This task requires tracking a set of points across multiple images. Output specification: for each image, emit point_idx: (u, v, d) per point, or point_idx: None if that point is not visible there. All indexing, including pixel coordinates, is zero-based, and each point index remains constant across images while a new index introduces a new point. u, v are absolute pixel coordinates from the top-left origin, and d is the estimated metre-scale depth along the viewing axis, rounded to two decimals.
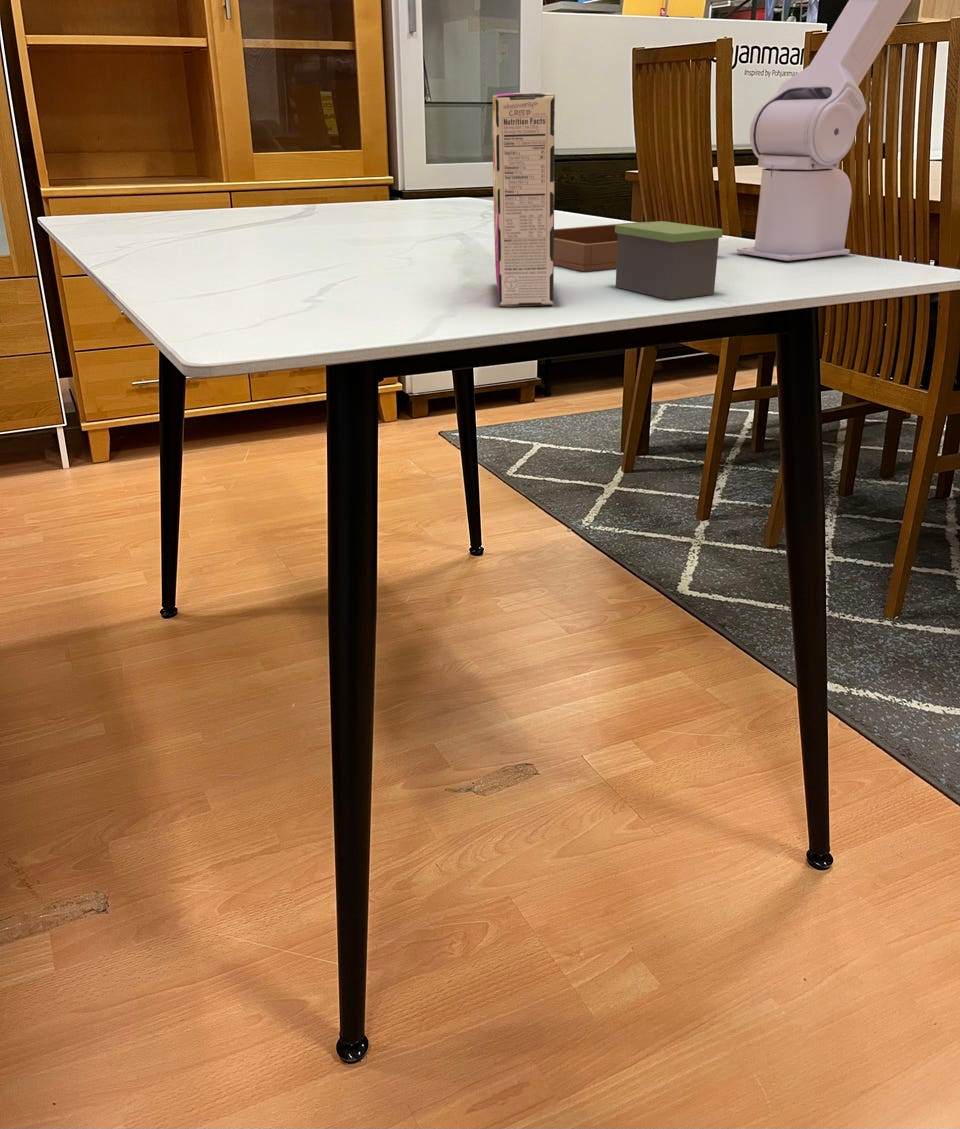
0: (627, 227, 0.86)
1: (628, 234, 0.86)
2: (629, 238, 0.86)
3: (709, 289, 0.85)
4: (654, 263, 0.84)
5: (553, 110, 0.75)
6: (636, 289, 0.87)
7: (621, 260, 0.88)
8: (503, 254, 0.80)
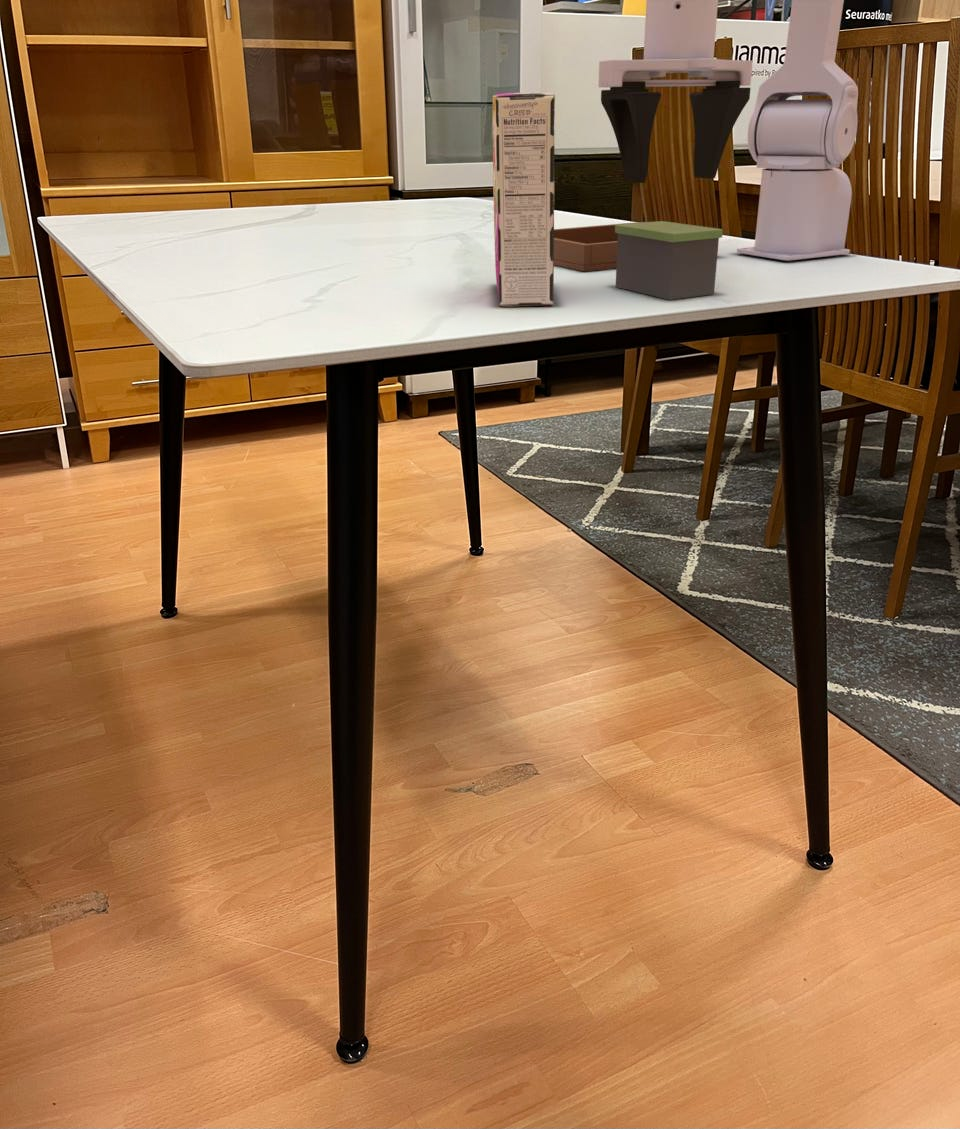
0: (627, 227, 0.86)
1: (628, 234, 0.86)
2: (629, 238, 0.86)
3: (709, 289, 0.85)
4: (654, 263, 0.84)
5: (553, 110, 0.75)
6: (636, 289, 0.87)
7: (621, 260, 0.88)
8: (503, 254, 0.80)
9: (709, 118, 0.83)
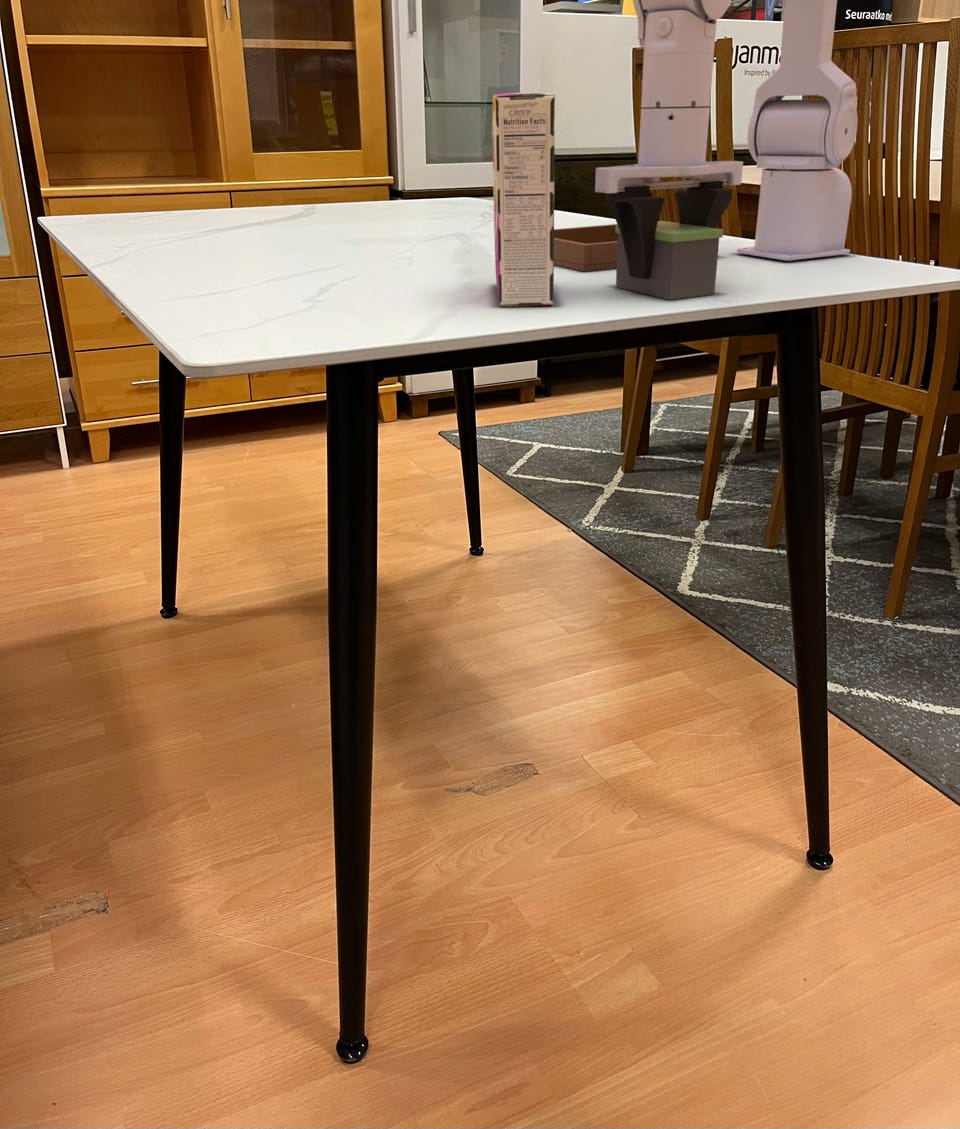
0: None
1: None
2: None
3: (709, 289, 0.85)
4: (655, 263, 0.84)
5: (553, 110, 0.75)
6: (636, 289, 0.87)
7: (621, 260, 0.88)
8: (503, 254, 0.80)
9: (693, 216, 0.86)
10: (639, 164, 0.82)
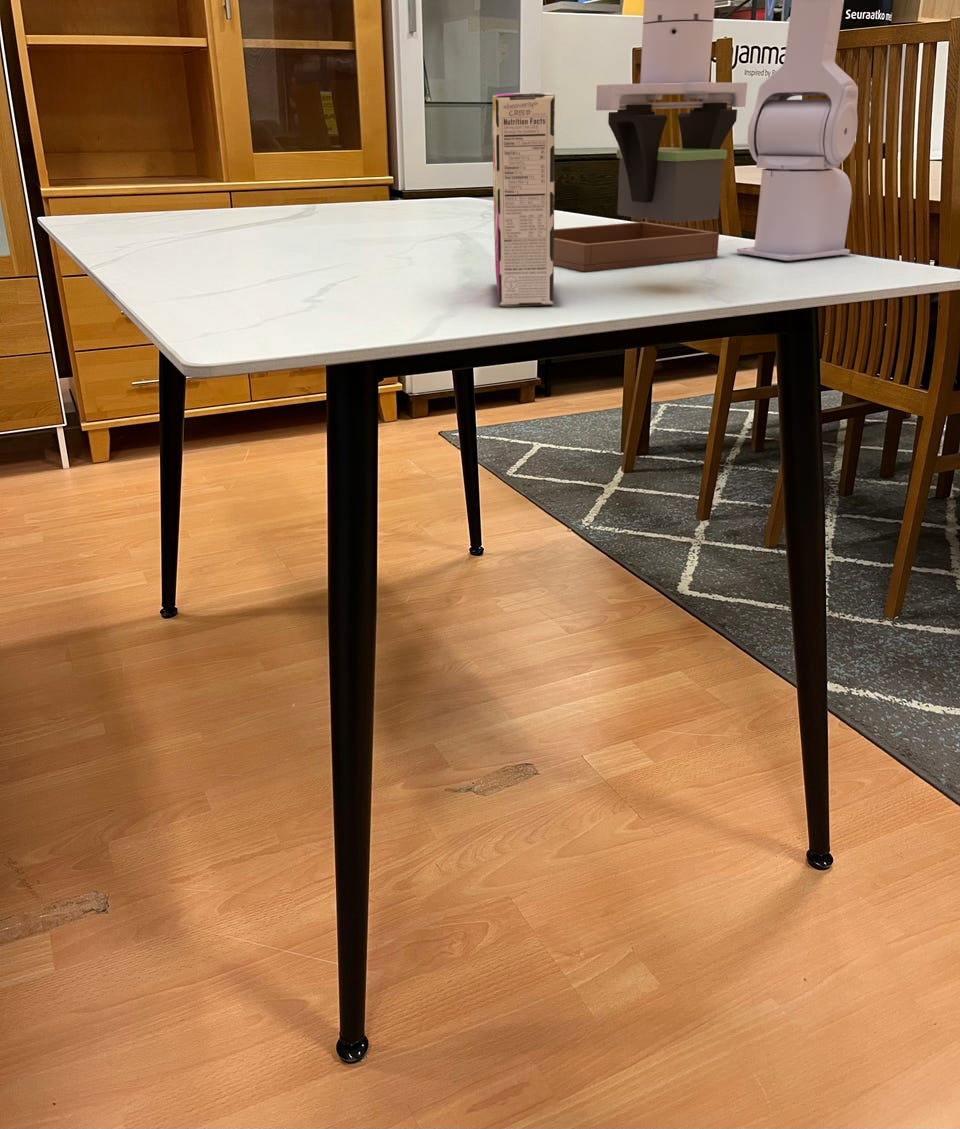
0: None
1: None
2: None
3: (713, 213, 0.83)
4: (657, 186, 0.82)
5: (553, 110, 0.75)
6: (638, 215, 0.85)
7: (623, 186, 0.86)
8: (503, 254, 0.80)
9: (697, 139, 0.84)
10: (641, 83, 0.81)
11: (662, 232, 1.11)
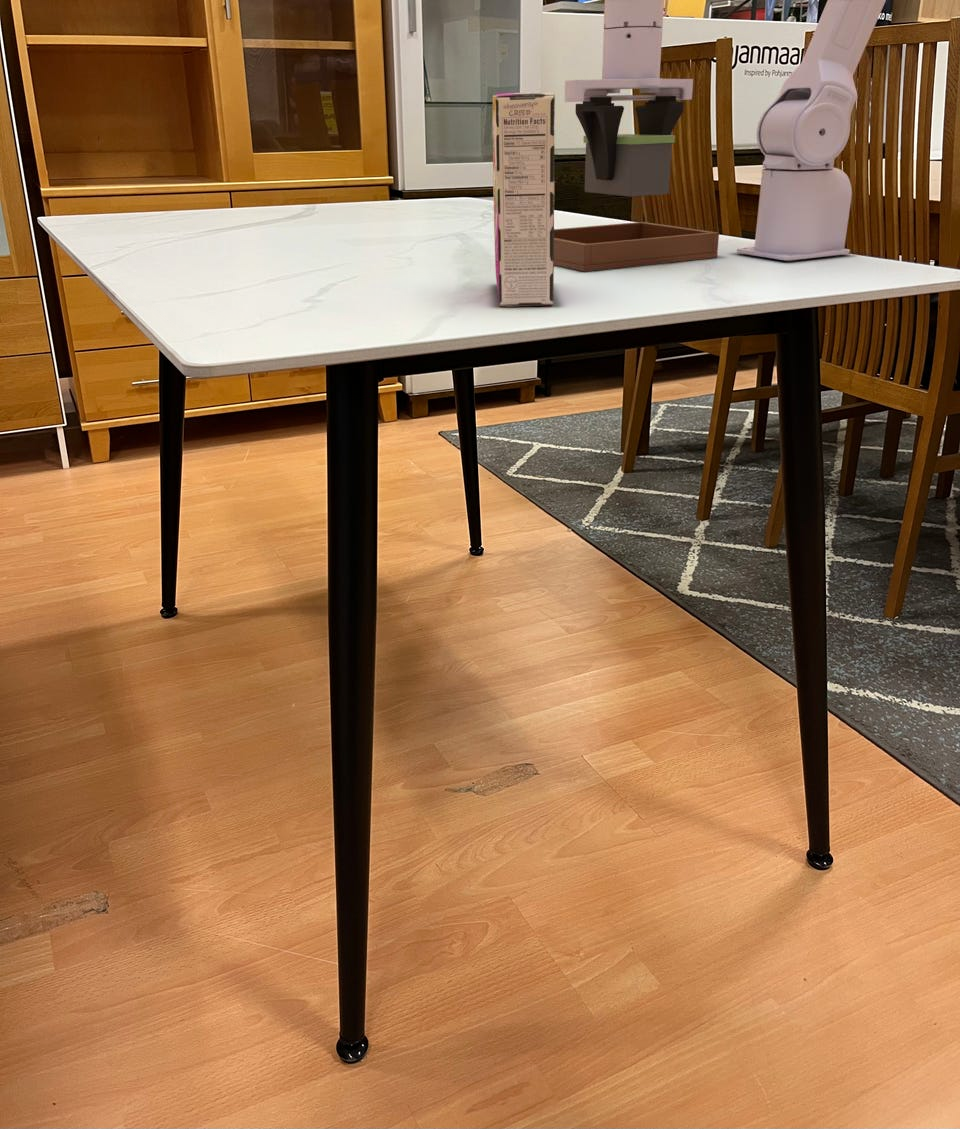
0: None
1: None
2: None
3: (664, 189, 0.98)
4: (617, 166, 0.97)
5: (553, 110, 0.75)
6: (602, 191, 1.00)
7: (589, 167, 1.01)
8: (503, 254, 0.80)
9: (651, 127, 0.99)
10: (603, 79, 0.96)
11: (662, 232, 1.11)
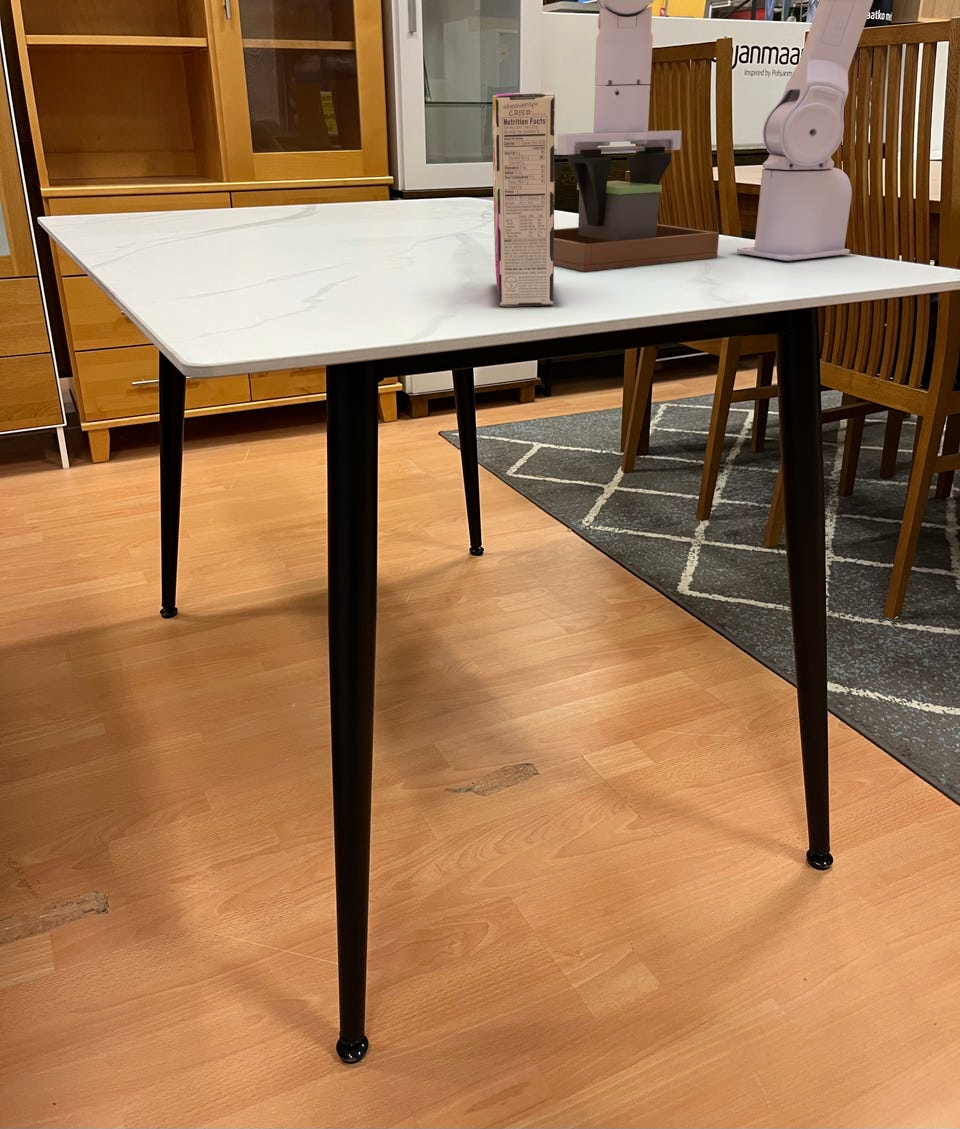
0: None
1: None
2: None
3: (651, 235, 1.04)
4: (606, 213, 1.03)
5: (553, 110, 0.75)
6: (593, 235, 1.06)
7: (582, 212, 1.07)
8: (503, 254, 0.80)
9: (640, 176, 1.05)
10: (594, 132, 1.01)
11: (662, 232, 1.11)
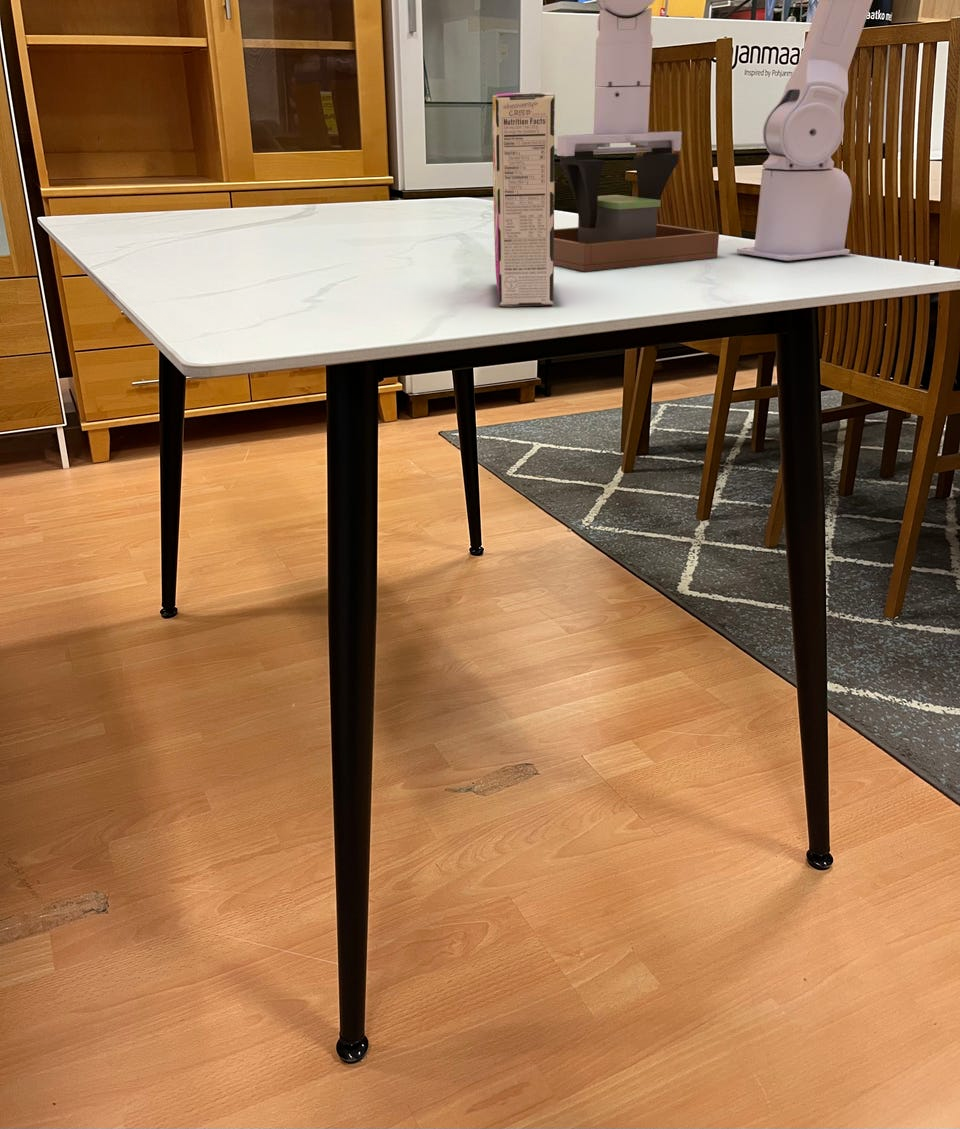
0: None
1: None
2: None
3: None
4: (605, 228, 1.03)
5: (553, 110, 0.75)
6: None
7: None
8: (503, 254, 0.80)
9: (648, 176, 1.05)
10: (594, 133, 1.01)
11: (662, 232, 1.11)
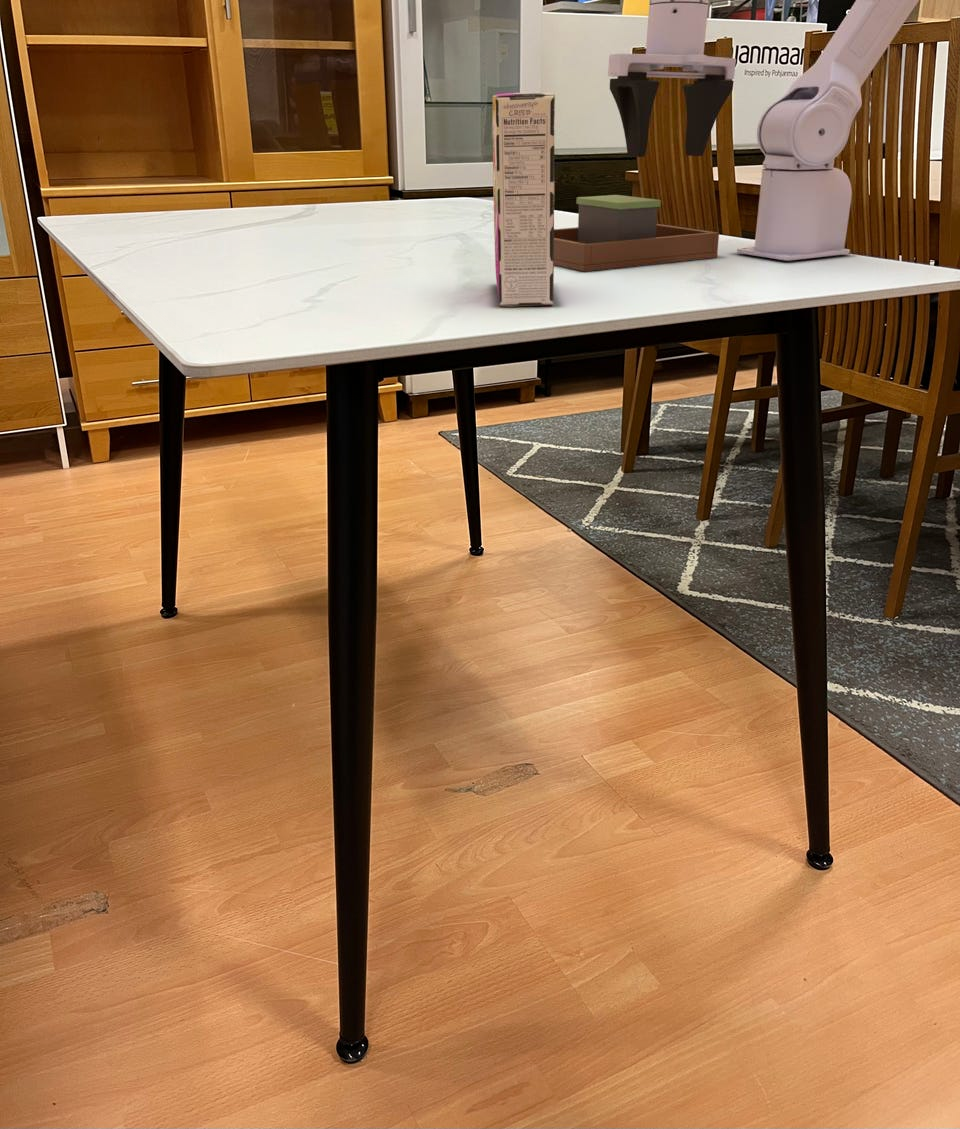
0: (585, 199, 1.05)
1: (586, 204, 1.05)
2: (586, 208, 1.06)
3: None
4: (605, 228, 1.03)
5: (553, 110, 0.75)
6: None
7: (581, 226, 1.07)
8: (503, 254, 0.80)
9: (699, 105, 0.99)
10: None
11: (662, 232, 1.11)
